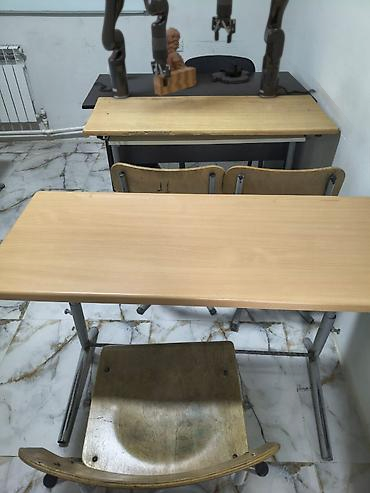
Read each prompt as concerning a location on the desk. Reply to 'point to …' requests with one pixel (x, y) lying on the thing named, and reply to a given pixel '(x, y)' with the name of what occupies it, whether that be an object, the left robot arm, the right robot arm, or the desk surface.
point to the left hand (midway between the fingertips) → (162, 85)
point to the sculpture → (174, 50)
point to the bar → (175, 81)
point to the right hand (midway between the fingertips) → (222, 41)
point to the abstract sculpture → (231, 74)
